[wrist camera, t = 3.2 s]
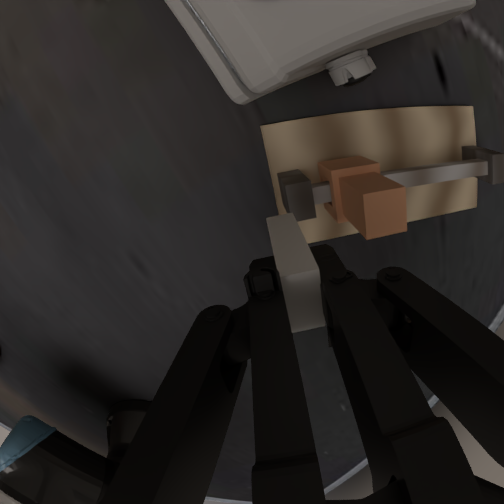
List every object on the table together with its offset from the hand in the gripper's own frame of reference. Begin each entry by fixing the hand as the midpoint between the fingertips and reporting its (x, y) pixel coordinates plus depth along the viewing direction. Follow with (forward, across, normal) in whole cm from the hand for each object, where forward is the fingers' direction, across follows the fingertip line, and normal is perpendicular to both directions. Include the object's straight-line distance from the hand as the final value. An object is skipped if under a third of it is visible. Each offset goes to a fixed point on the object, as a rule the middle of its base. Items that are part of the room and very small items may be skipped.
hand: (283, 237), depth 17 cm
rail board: (+13, +13, 0) cm, 18 cm away
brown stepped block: (+10, +7, 0) cm, 12 cm away
